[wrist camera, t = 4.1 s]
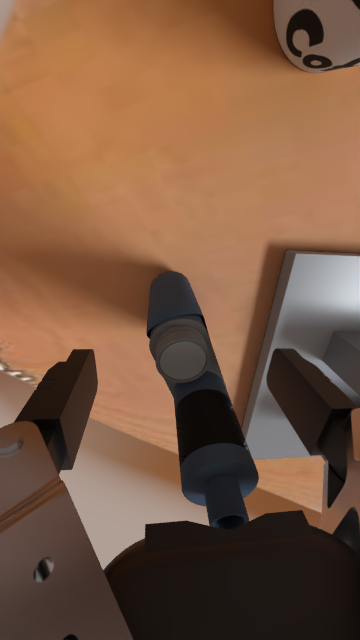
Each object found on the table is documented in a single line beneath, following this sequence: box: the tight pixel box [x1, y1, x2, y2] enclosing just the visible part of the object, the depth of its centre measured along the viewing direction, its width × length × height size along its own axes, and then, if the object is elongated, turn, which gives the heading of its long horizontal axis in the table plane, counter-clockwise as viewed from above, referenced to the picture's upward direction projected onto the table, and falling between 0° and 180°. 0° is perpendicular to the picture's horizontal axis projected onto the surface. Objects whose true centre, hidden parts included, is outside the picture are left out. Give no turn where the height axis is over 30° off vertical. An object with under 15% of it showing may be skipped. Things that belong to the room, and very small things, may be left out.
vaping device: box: [147, 272, 259, 530], centre depth 11 cm, size 3×5×12 cm, turn 19°
